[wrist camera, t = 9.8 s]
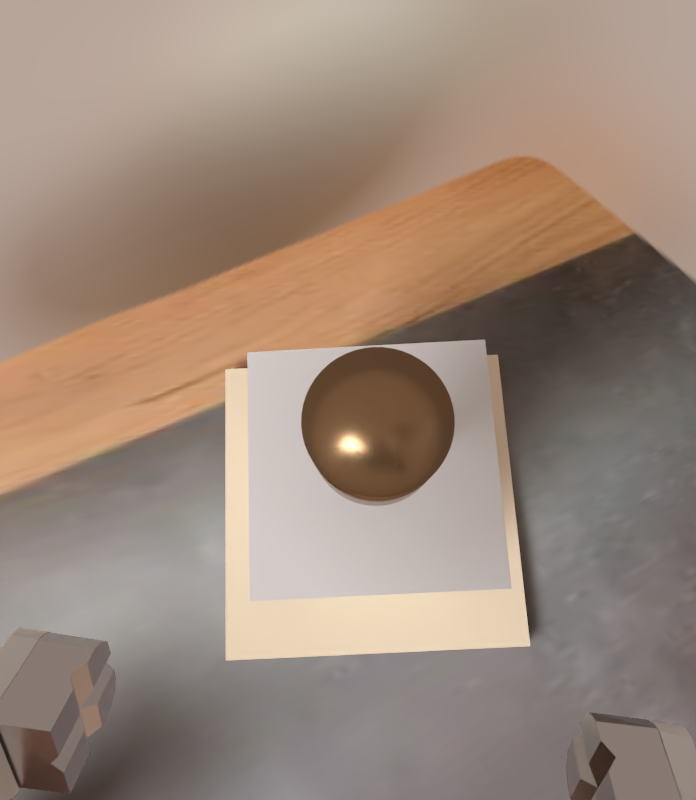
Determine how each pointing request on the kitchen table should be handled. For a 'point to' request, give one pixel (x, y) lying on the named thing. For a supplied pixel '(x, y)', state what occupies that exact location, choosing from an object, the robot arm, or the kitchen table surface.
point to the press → (368, 525)
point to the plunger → (377, 425)
